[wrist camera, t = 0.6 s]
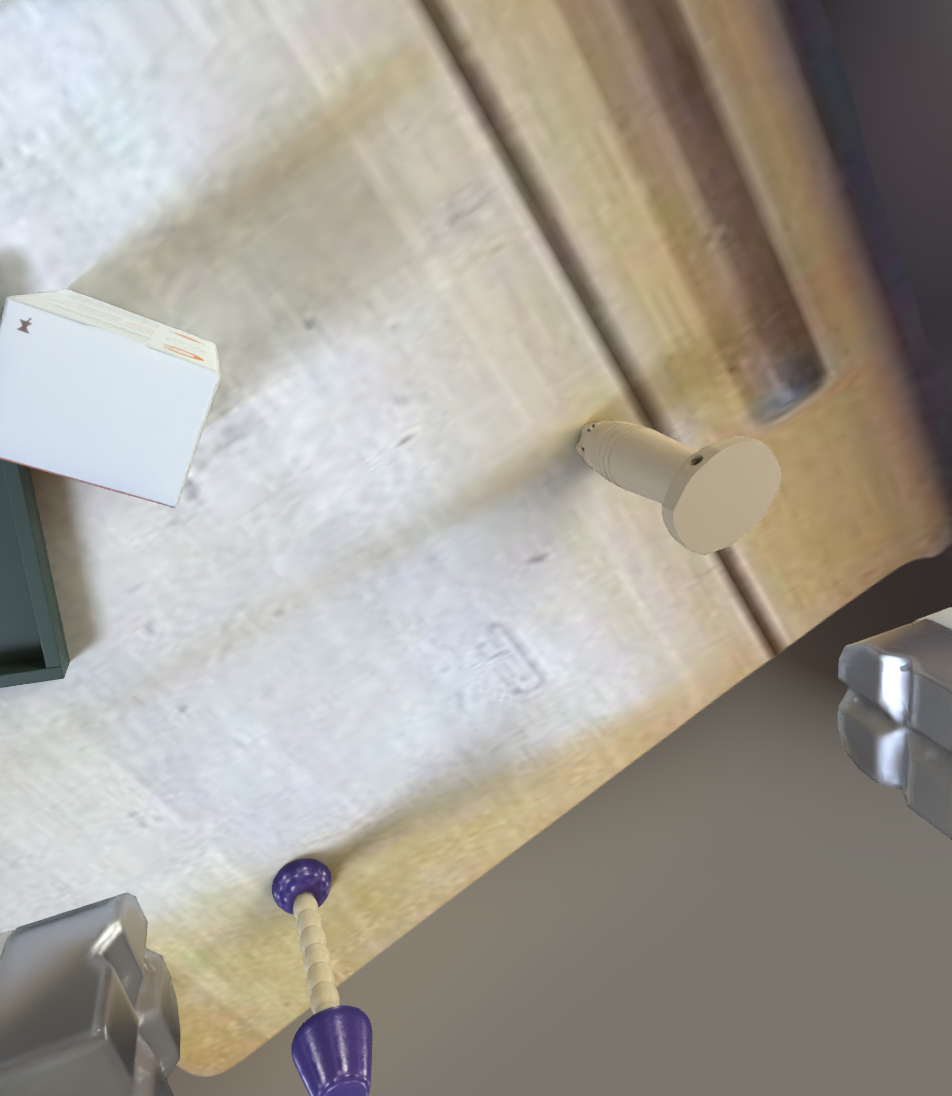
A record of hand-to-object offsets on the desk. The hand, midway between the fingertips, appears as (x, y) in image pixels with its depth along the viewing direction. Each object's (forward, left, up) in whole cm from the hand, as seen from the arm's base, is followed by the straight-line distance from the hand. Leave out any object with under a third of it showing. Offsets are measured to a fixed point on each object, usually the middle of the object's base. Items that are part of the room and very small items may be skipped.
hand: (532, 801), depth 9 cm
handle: (+6, +21, -41) cm, 46 cm away
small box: (0, -8, -41) cm, 42 cm away
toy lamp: (+37, -1, -41) cm, 55 cm away
